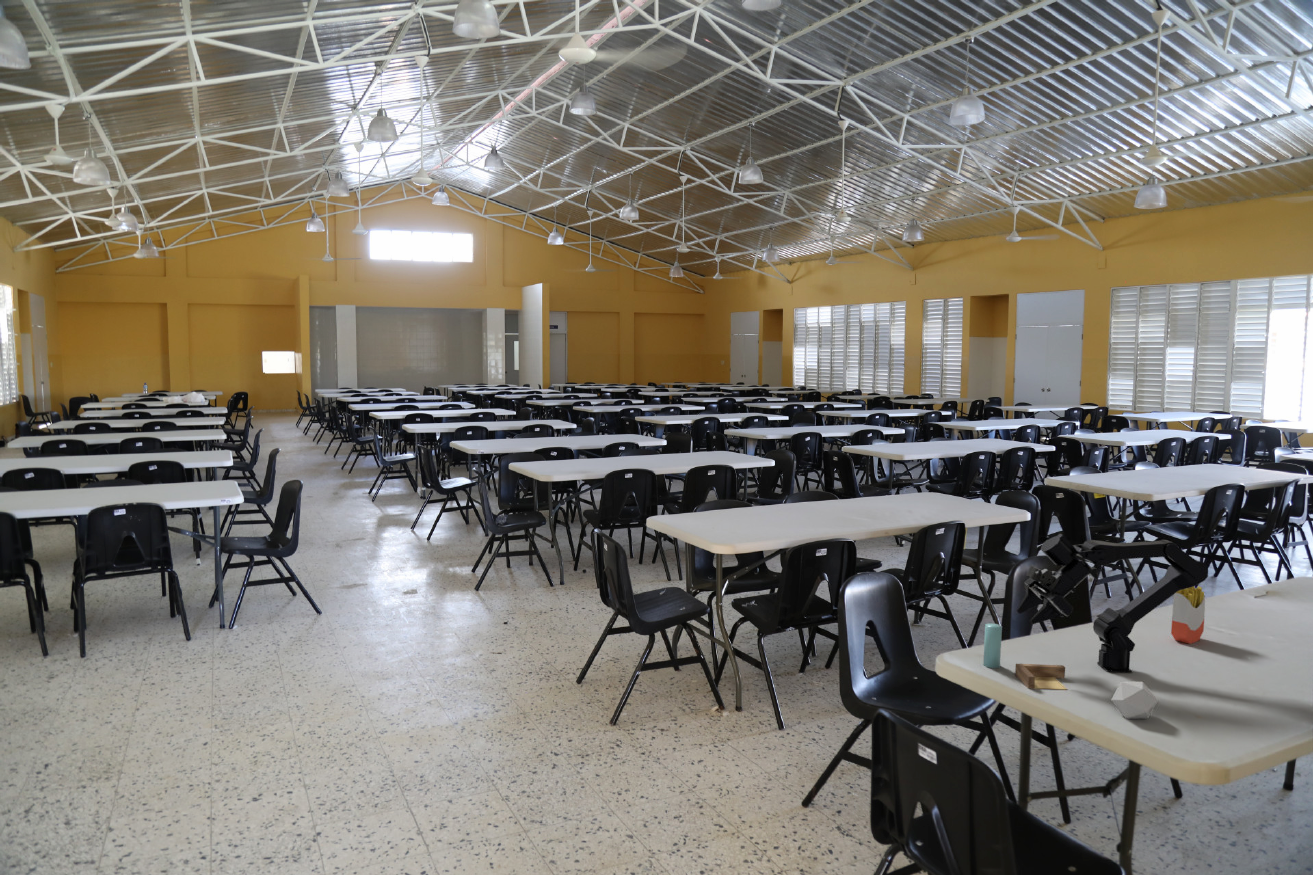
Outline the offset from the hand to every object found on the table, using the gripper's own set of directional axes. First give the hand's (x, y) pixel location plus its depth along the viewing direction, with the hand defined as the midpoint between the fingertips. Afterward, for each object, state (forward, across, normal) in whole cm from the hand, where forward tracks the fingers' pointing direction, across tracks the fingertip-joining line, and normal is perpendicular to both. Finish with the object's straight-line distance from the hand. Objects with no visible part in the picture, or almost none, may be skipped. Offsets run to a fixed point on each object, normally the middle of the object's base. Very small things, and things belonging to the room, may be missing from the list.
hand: (1024, 617), depth 229 cm
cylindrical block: (+15, 0, +4) cm, 16 cm away
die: (0, +32, +19) cm, 37 cm away
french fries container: (-31, -26, +51) cm, 65 cm away
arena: (+9, +12, +10) cm, 18 cm away
